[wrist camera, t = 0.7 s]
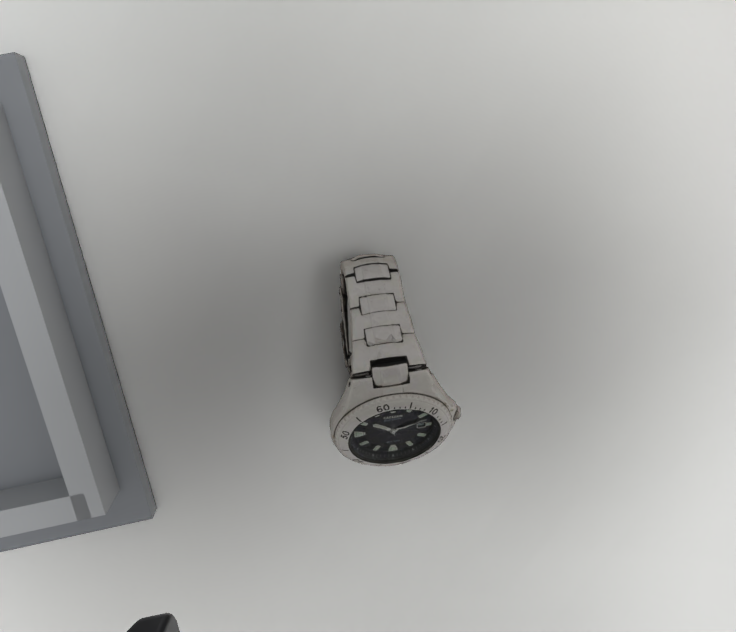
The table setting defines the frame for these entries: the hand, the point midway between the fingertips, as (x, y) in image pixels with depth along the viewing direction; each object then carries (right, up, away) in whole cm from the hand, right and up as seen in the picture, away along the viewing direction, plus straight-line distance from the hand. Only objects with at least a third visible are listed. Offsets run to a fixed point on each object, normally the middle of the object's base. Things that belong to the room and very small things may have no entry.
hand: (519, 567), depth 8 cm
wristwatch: (-2, +3, +12) cm, 12 cm away
